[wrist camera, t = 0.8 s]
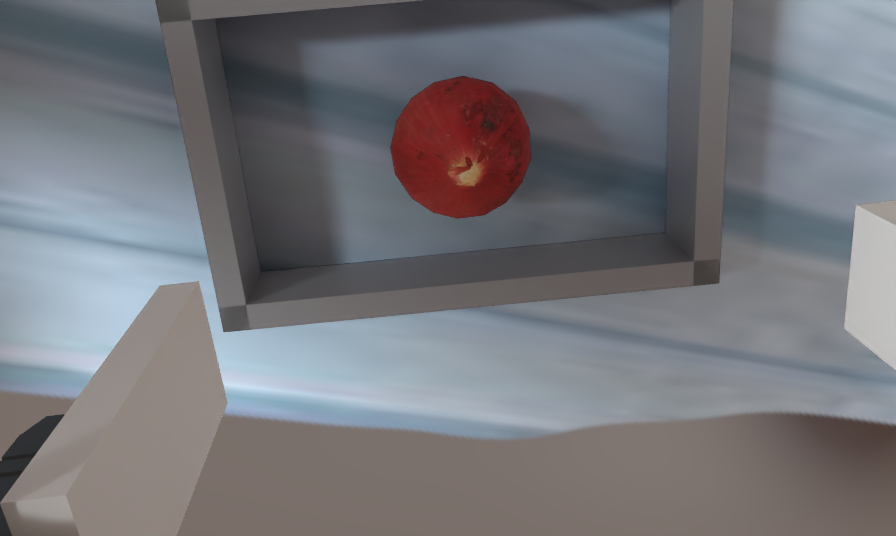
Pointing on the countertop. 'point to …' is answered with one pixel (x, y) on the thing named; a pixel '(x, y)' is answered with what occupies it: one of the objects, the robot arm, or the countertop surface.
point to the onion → (461, 147)
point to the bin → (467, 273)
